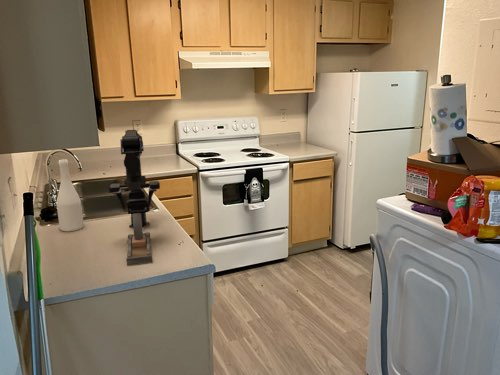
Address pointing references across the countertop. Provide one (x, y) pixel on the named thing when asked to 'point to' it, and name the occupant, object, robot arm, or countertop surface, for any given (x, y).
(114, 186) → the robot arm
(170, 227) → the countertop surface
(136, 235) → the carriage
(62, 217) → the wine bottle
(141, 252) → the guide rail
